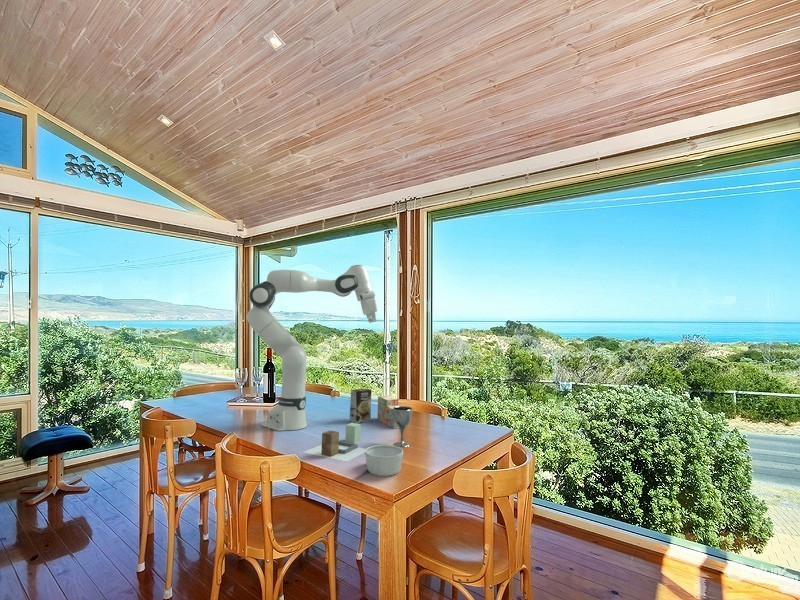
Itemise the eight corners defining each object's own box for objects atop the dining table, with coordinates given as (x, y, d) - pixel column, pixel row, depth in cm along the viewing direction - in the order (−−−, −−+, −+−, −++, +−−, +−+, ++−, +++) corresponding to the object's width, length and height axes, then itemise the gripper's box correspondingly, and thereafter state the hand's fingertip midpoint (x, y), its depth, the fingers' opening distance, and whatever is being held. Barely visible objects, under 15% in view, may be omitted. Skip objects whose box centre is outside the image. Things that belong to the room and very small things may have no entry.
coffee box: (356, 423, 203) (357, 391, 204) (349, 421, 208) (350, 389, 208) (371, 421, 209) (371, 389, 210) (363, 418, 214) (364, 387, 214)
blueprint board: (302, 455, 154) (302, 449, 154) (328, 444, 168) (328, 438, 168) (346, 465, 145) (346, 458, 145) (369, 452, 159) (370, 446, 159)
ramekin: (384, 481, 131) (385, 459, 131) (356, 471, 139) (357, 450, 140) (410, 470, 141) (411, 450, 141) (382, 461, 149) (383, 442, 150)
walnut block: (321, 454, 151) (322, 433, 152) (328, 451, 155) (329, 430, 156) (331, 456, 149) (331, 434, 150) (338, 453, 153) (339, 431, 154)
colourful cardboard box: (405, 428, 197) (406, 402, 198) (393, 429, 195) (394, 403, 195) (388, 418, 217) (388, 394, 217) (377, 419, 214) (377, 395, 215)
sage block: (345, 444, 169) (345, 425, 169) (351, 441, 173) (351, 422, 173) (354, 446, 167) (354, 426, 167) (360, 443, 171) (360, 424, 171)
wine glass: (393, 441, 175) (393, 406, 175) (411, 441, 174) (412, 406, 175) (392, 447, 167) (392, 410, 167) (411, 447, 166) (412, 410, 167)
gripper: (356, 299, 215) (363, 324, 214) (362, 295, 195) (370, 323, 195) (367, 296, 216) (374, 321, 216) (375, 292, 197) (382, 319, 196)
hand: (372, 322), depth 205 cm, fingers open, 8 cm apart
